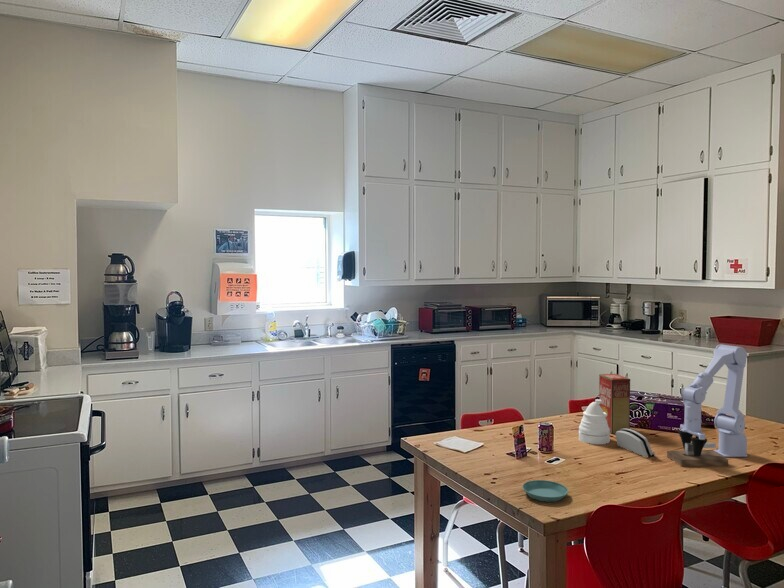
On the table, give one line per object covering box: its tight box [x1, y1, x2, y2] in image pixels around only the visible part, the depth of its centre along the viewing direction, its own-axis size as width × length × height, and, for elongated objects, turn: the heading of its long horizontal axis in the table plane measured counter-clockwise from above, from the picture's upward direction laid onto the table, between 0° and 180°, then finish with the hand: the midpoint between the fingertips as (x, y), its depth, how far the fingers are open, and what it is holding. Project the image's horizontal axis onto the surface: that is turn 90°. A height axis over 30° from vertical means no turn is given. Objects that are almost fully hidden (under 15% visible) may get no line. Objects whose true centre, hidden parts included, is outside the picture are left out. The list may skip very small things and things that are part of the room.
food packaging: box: [598, 373, 631, 435], centre depth 271 cm, size 13×9×25 cm
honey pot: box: [578, 398, 611, 445], centre depth 255 cm, size 13×13×18 cm
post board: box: [666, 449, 729, 467], centre depth 228 cm, size 18×11×2 cm, turn 92°
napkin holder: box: [614, 428, 656, 458], centre depth 240 cm, size 17×5×10 cm, turn 19°
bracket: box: [685, 442, 717, 456], centre depth 228 cm, size 11×2×7 cm, turn 92°
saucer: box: [521, 479, 569, 503], centre depth 195 cm, size 15×15×3 cm
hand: (691, 452), depth 228 cm, fingers open, 7 cm apart
